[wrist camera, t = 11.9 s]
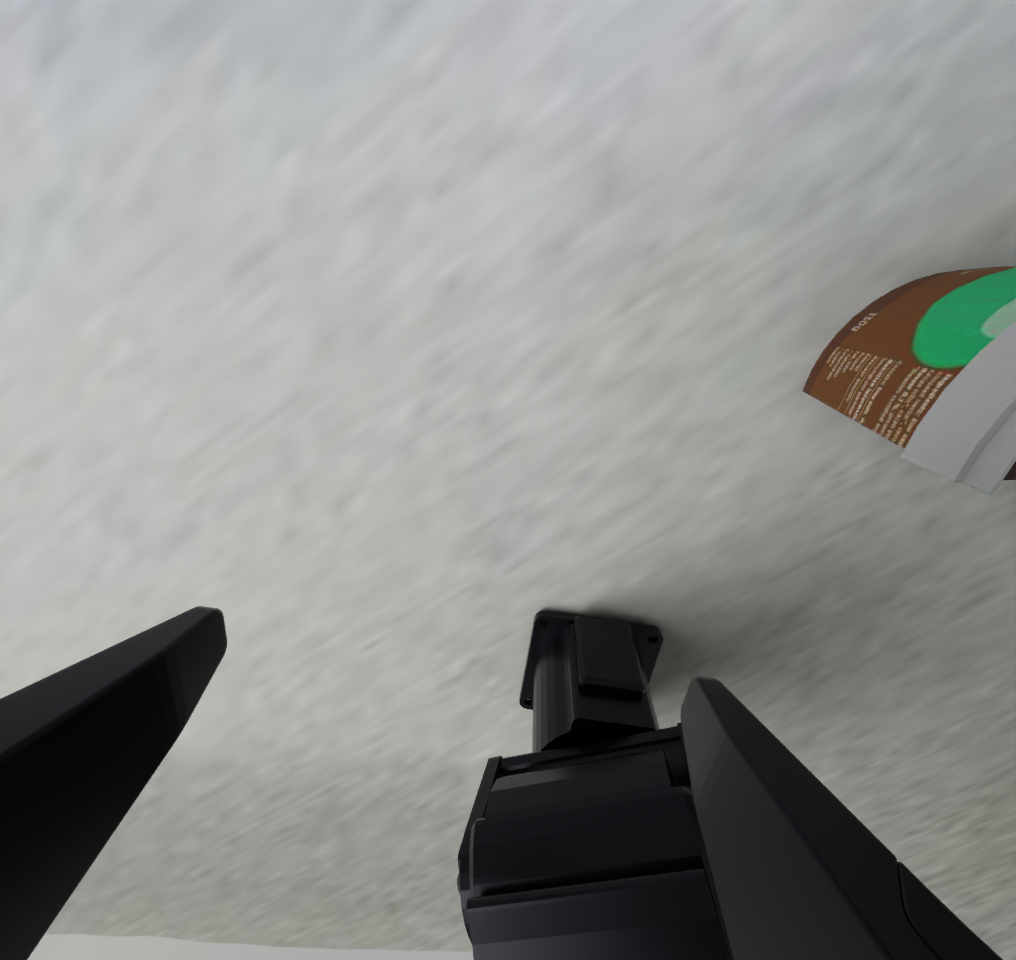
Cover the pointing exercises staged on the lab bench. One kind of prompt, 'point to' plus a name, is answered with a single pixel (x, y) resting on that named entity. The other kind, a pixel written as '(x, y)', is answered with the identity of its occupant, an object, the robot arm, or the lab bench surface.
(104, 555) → the lab bench surface
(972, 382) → the food container
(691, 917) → the robot arm
